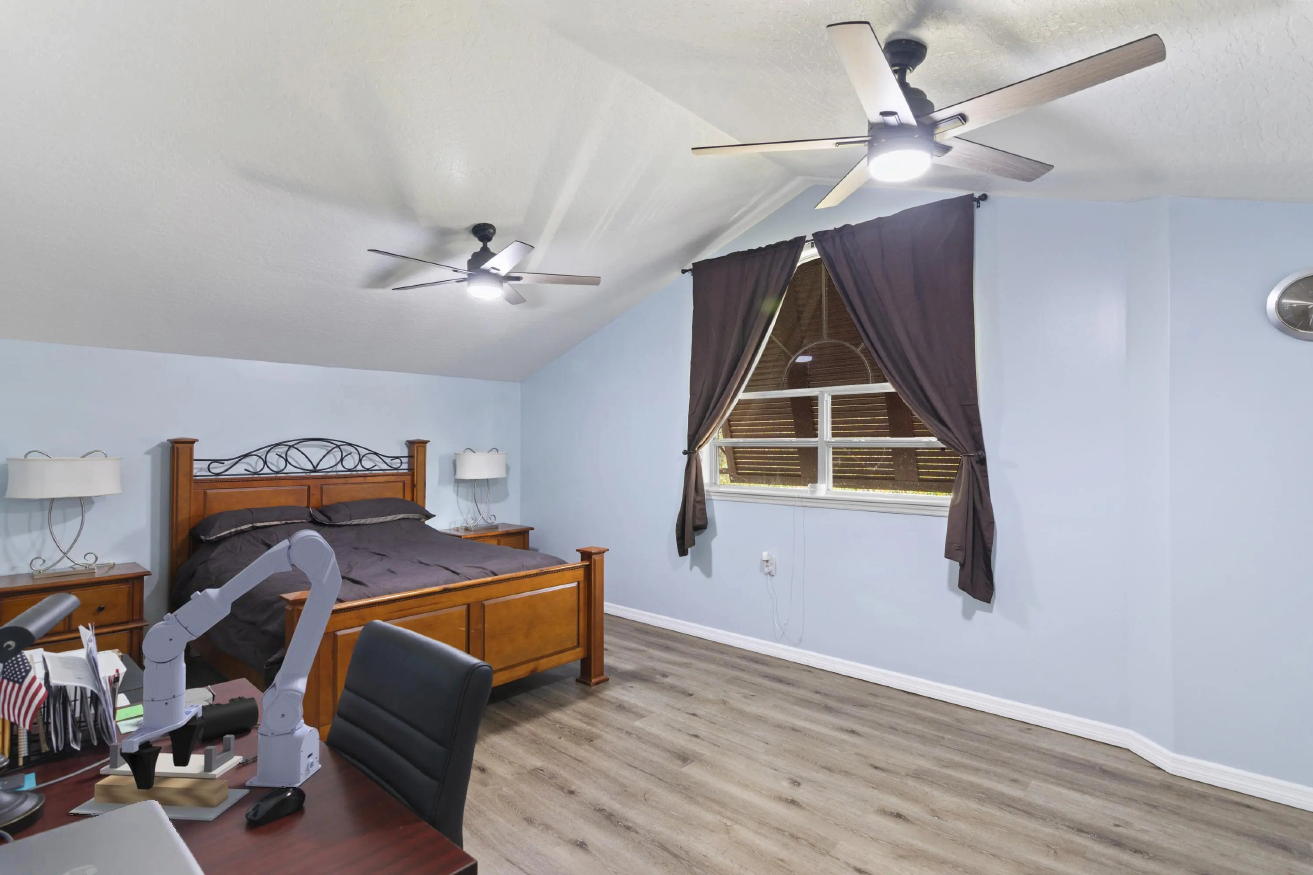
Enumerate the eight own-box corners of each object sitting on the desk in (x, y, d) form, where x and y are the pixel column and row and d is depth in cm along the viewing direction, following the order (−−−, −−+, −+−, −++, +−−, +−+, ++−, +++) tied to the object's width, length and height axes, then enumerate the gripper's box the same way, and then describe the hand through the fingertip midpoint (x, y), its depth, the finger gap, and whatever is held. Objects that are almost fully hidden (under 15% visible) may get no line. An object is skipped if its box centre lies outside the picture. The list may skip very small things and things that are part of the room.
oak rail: (228, 798, 113) (228, 780, 113) (215, 807, 110) (215, 789, 110) (110, 792, 114) (110, 775, 114) (94, 802, 111) (94, 783, 111)
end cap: (202, 748, 132) (203, 714, 132) (192, 738, 137) (192, 704, 137) (258, 732, 140) (259, 700, 140) (246, 723, 144) (247, 691, 144)
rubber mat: (249, 791, 116) (249, 789, 116) (211, 820, 107) (211, 817, 107) (117, 786, 117) (117, 783, 117) (69, 814, 108) (69, 811, 108)
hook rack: (242, 760, 127) (243, 733, 127) (216, 778, 120) (216, 750, 120) (132, 756, 128) (133, 729, 129) (99, 773, 121) (100, 745, 122)
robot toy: (234, 721, 147) (207, 700, 156) (235, 701, 147) (208, 681, 156) (168, 740, 138) (143, 717, 147) (169, 719, 138) (144, 696, 147)
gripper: (175, 679, 120) (174, 755, 119) (103, 711, 105) (102, 798, 105) (213, 680, 119) (212, 756, 119) (146, 712, 105) (145, 799, 105)
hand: (163, 776), depth 112 cm, fingers open, 7 cm apart
